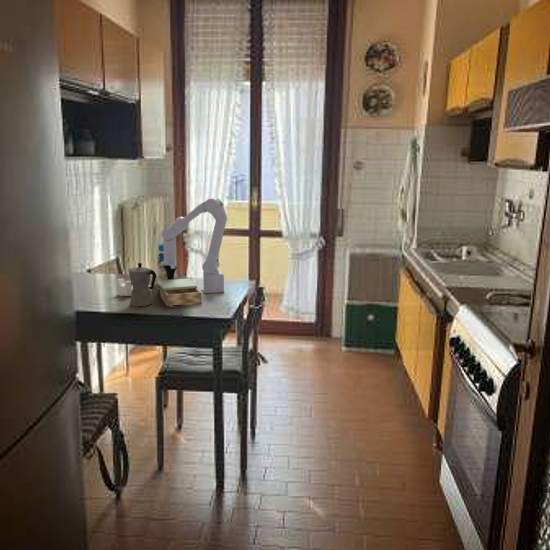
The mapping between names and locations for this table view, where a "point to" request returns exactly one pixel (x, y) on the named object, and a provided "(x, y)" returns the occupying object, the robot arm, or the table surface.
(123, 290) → the bracket
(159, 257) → the beverage bottle
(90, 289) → the table surface
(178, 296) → the box
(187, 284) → the lid
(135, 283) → the coffeepot
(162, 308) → the table surface
